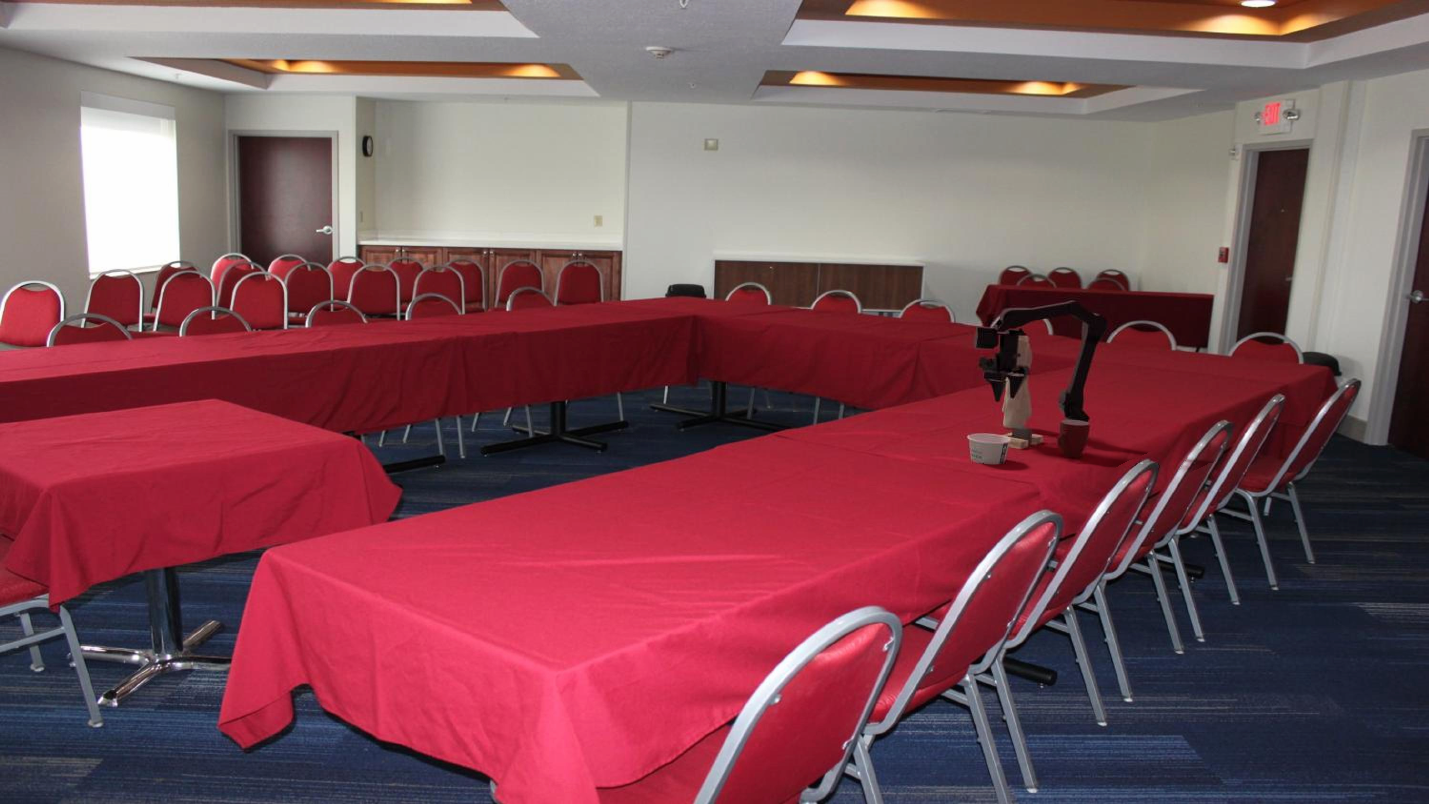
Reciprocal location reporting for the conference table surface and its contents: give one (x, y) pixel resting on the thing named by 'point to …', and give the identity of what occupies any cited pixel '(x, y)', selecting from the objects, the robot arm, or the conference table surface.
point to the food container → (988, 448)
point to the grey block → (1022, 433)
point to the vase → (1019, 392)
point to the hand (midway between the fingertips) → (1004, 400)
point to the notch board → (1023, 441)
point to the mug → (1073, 437)
